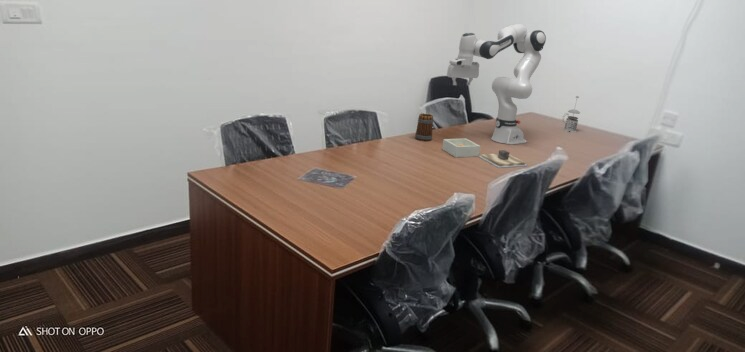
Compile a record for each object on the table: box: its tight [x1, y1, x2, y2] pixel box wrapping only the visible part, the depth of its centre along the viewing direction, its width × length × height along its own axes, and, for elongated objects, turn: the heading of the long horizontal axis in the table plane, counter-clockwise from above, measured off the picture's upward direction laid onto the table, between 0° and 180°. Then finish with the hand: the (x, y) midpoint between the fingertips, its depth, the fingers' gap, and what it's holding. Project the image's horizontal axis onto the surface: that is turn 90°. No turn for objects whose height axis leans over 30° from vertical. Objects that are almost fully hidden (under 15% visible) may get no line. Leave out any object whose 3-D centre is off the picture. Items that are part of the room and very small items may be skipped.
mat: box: [477, 155, 528, 169], centre depth 275 cm, size 19×19×1 cm
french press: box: [562, 95, 581, 133], centre depth 354 cm, size 10×12×25 cm
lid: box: [480, 149, 526, 166], centre depth 274 cm, size 17×17×5 cm
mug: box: [414, 112, 434, 142], centre depth 306 cm, size 16×11×15 cm
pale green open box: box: [441, 137, 481, 158], centre depth 283 cm, size 15×15×6 cm
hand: (461, 85), depth 299 cm, fingers open, 8 cm apart
